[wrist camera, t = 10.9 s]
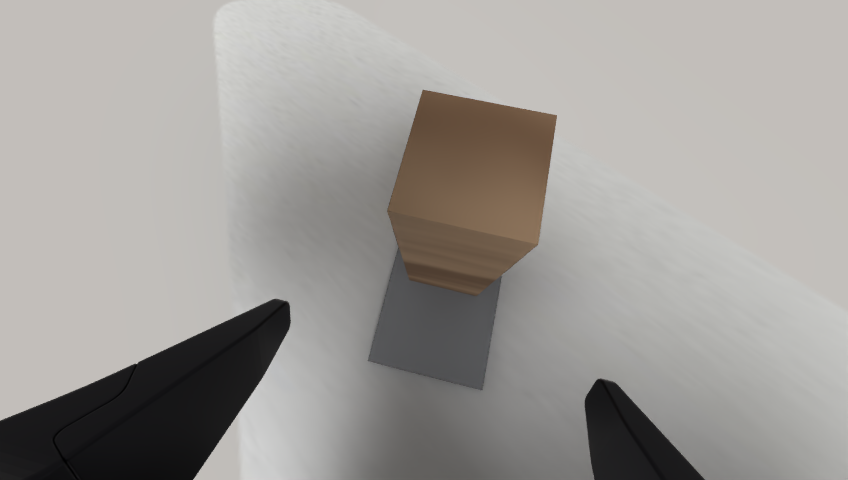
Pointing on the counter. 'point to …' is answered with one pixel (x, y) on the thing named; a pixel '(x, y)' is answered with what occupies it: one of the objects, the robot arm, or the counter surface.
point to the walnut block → (470, 190)
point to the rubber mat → (435, 329)
